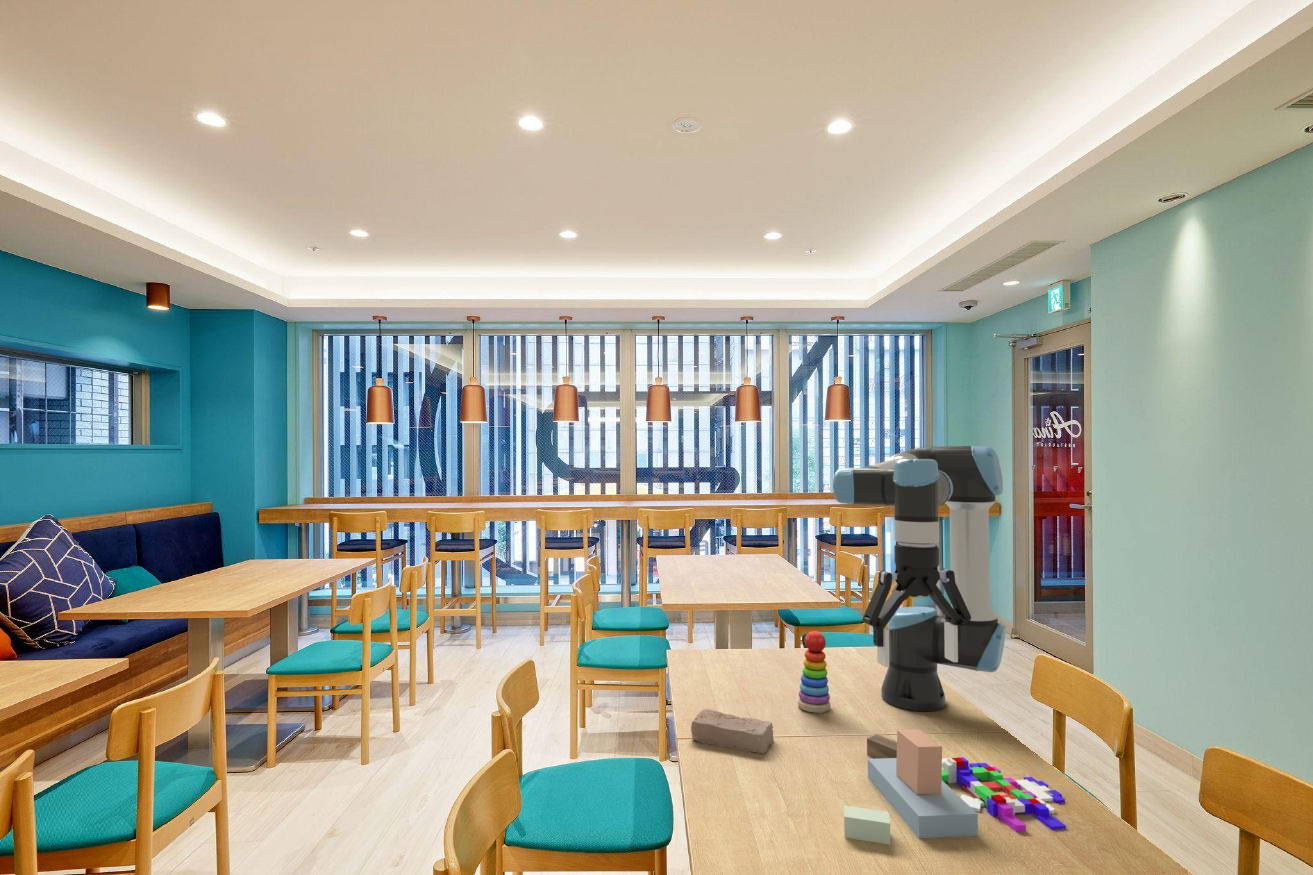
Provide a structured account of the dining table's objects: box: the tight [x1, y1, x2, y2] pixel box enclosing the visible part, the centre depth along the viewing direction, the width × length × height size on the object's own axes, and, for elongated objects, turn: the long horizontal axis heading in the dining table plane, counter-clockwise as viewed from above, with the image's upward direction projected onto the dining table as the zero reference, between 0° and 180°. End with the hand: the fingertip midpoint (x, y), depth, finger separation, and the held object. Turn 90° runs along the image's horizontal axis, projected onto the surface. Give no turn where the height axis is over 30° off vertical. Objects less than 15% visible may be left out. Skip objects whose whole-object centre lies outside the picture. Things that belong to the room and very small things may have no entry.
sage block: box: [843, 805, 891, 846], centre depth 105 cm, size 4×7×4 cm, turn 74°
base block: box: [867, 758, 979, 839], centre depth 114 cm, size 10×20×4 cm, turn 5°
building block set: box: [942, 756, 1067, 833], centre depth 119 cm, size 25×20×4 cm
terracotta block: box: [896, 729, 943, 794], centre depth 115 cm, size 4×7×8 cm, turn 8°
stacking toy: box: [797, 630, 832, 714], centre depth 159 cm, size 8×8×19 cm
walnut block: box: [866, 734, 897, 759], centre depth 132 cm, size 4×7×4 cm, turn 38°
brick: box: [690, 708, 774, 754], centre depth 140 cm, size 17×8×5 cm, turn 67°
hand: (917, 662), depth 116 cm, fingers open, 13 cm apart
